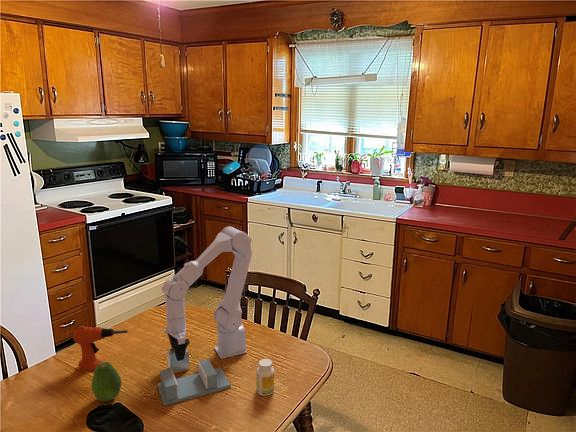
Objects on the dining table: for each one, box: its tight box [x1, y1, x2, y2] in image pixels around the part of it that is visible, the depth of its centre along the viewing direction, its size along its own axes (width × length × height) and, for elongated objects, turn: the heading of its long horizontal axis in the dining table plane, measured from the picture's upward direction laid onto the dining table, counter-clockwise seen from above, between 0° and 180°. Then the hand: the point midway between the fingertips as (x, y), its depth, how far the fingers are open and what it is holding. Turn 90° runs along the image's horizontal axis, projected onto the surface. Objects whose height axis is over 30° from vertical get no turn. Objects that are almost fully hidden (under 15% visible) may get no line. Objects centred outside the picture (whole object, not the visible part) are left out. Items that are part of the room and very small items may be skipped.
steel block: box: [166, 347, 190, 374], centre depth 142 cm, size 6×4×6 cm, turn 116°
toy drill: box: [72, 325, 128, 372], centre depth 141 cm, size 5×19×15 cm, turn 85°
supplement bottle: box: [255, 358, 275, 396], centre depth 131 cm, size 5×5×10 cm
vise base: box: [157, 367, 232, 407], centre depth 132 cm, size 20×10×6 cm, turn 116°
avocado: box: [91, 361, 122, 402], centre depth 126 cm, size 8×8×12 cm
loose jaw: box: [197, 358, 217, 389], centre depth 134 cm, size 3×9×4 cm, turn 26°
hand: (177, 353), depth 141 cm, fingers open, 7 cm apart
